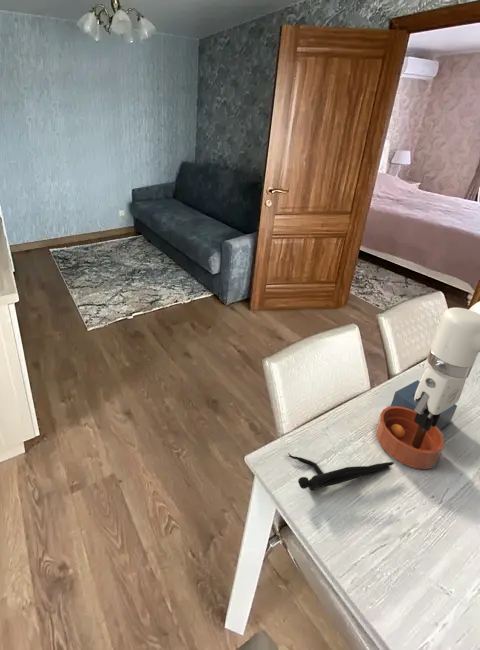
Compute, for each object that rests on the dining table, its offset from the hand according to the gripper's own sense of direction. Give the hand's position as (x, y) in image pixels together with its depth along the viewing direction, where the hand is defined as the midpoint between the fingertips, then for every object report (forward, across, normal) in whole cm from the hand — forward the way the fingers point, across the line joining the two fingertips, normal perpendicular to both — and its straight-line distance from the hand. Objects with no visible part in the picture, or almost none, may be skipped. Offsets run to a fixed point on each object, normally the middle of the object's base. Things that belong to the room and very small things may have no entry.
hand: (424, 423), depth 82 cm
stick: (+8, 0, 0) cm, 8 cm away
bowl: (+10, +1, +2) cm, 11 cm away
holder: (+10, +14, +6) cm, 18 cm away
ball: (+8, +1, +5) cm, 10 cm away
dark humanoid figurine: (+11, -20, +6) cm, 24 cm away
